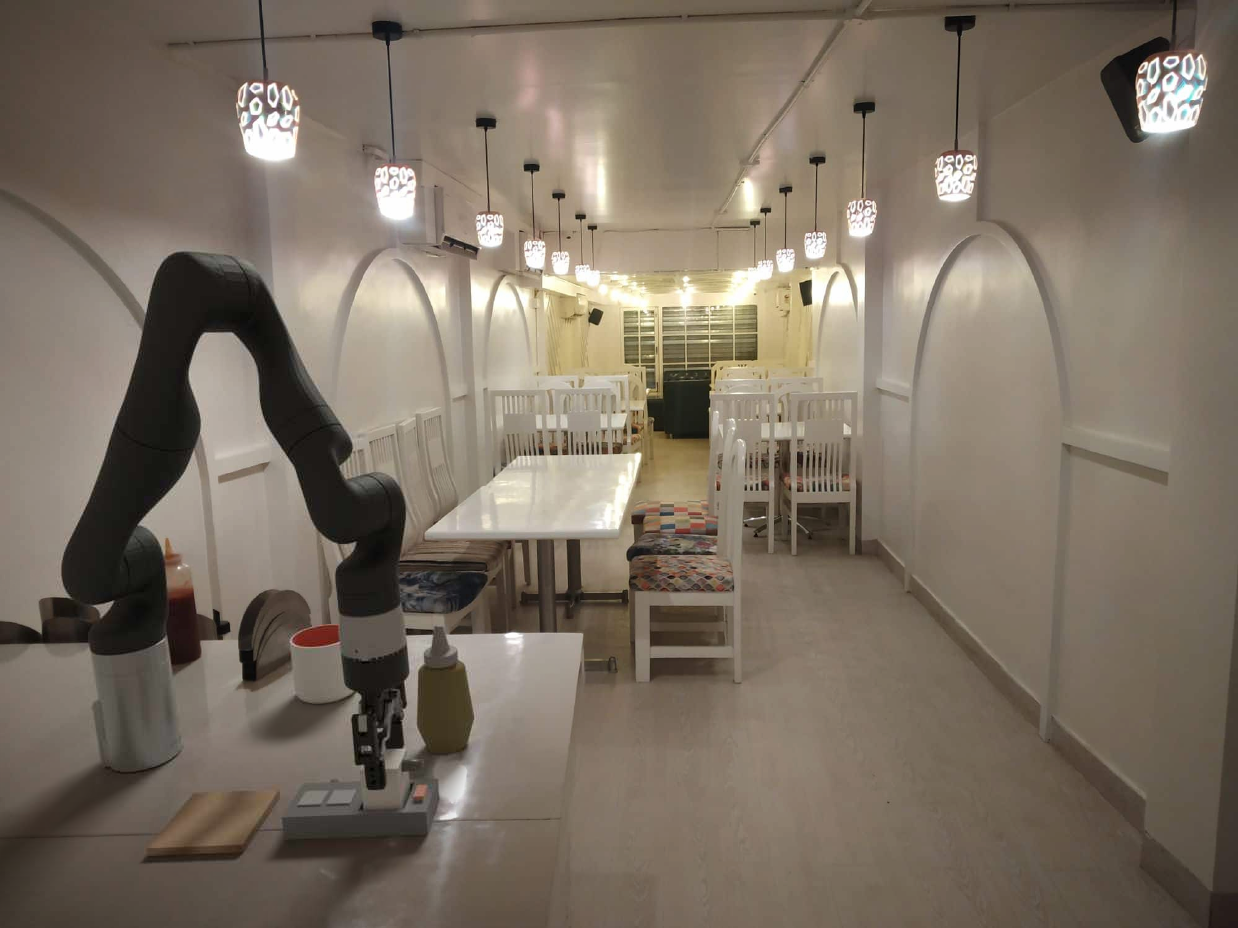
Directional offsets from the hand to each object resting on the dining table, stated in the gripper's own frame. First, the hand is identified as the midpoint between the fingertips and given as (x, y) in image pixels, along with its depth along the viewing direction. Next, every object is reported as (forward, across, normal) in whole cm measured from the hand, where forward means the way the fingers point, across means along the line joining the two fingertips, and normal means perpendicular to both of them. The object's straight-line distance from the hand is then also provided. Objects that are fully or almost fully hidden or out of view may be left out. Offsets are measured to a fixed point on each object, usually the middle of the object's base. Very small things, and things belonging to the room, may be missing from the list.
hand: (386, 768), depth 99 cm
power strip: (+7, -2, -3) cm, 8 cm away
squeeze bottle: (+7, -17, +4) cm, 19 cm away
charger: (+6, 0, +1) cm, 6 cm away
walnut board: (+7, 0, -21) cm, 22 cm away
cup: (+7, -35, -19) cm, 41 cm away
